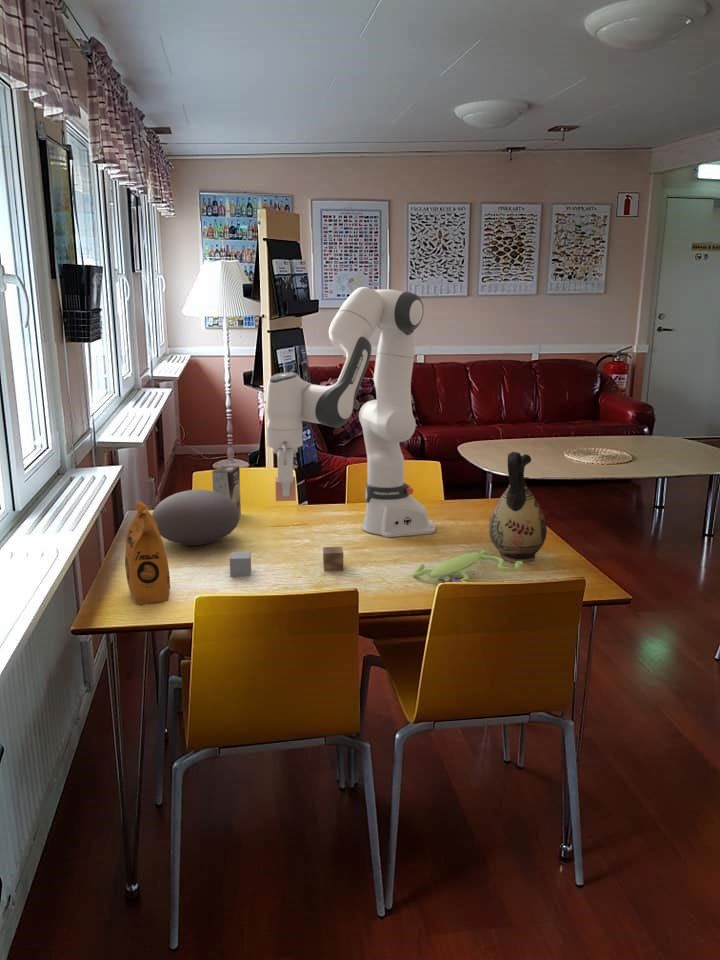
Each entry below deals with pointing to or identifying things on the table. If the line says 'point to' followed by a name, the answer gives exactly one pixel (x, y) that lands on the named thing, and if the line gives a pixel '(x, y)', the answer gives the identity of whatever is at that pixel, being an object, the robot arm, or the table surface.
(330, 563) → the walnut block
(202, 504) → the flattened ellipsoid
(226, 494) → the coffee box
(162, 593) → the coffee package
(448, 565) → the figurine
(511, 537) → the ceramic jug
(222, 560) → the table surface
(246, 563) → the slate block
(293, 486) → the terracotta block
